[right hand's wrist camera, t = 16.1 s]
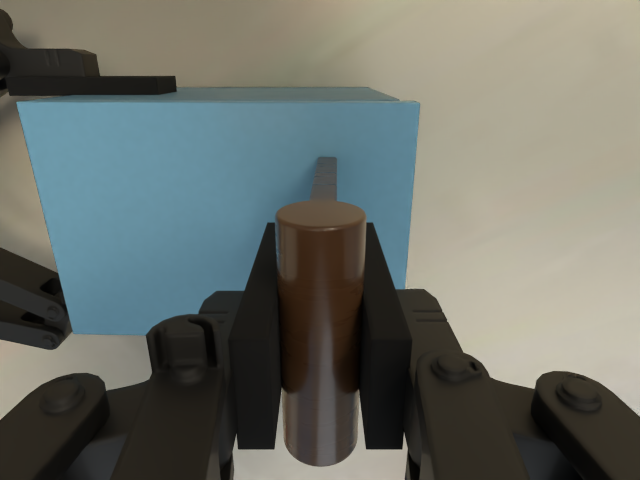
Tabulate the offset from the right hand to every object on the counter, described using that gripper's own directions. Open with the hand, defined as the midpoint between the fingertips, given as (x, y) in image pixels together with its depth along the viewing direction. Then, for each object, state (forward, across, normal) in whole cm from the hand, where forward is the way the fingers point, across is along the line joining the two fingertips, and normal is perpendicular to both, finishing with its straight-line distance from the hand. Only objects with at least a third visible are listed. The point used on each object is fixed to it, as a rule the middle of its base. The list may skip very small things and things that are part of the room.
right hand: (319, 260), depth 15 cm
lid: (+4, -4, 0) cm, 5 cm away
